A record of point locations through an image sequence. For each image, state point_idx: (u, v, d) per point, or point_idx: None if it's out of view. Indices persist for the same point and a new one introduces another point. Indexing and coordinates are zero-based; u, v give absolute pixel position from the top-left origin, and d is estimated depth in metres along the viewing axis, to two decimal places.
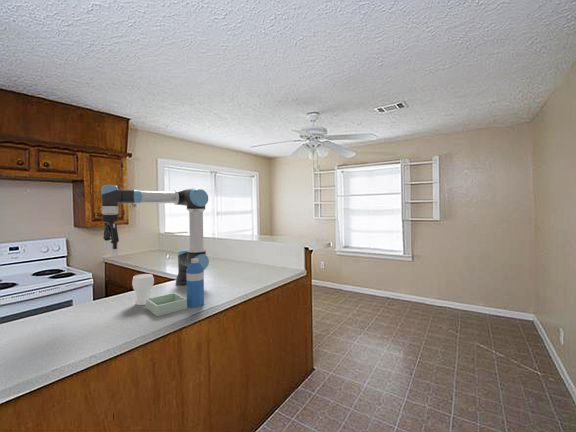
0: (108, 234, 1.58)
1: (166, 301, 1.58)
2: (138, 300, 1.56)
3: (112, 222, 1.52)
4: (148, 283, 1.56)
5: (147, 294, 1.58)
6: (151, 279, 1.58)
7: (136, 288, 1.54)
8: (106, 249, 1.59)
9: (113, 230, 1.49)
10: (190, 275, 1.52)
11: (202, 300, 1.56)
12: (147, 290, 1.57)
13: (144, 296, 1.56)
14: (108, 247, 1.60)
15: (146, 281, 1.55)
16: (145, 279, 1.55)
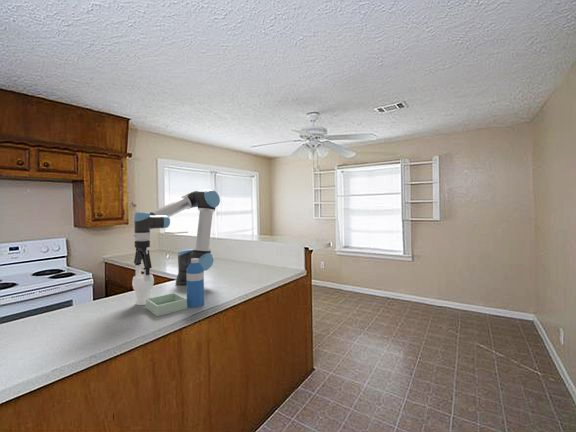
0: (139, 259, 1.62)
1: (166, 301, 1.58)
2: (138, 300, 1.56)
3: (144, 248, 1.56)
4: (148, 283, 1.56)
5: (147, 294, 1.58)
6: (151, 279, 1.58)
7: (136, 288, 1.54)
8: (137, 274, 1.63)
9: (146, 257, 1.53)
10: (190, 275, 1.52)
11: (202, 300, 1.56)
12: (147, 290, 1.57)
13: (144, 296, 1.56)
14: (139, 272, 1.63)
15: (146, 281, 1.55)
16: None
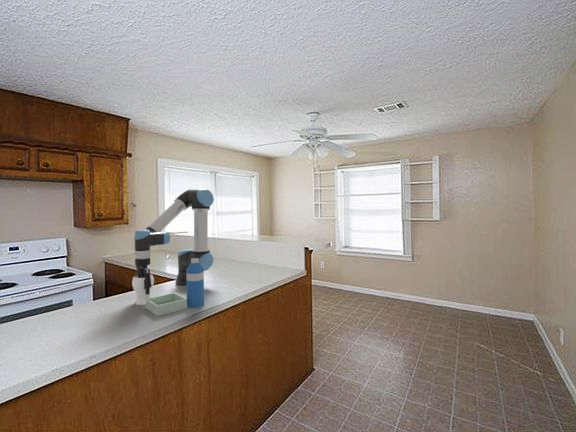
0: (140, 277, 1.62)
1: (166, 301, 1.58)
2: (138, 300, 1.56)
3: (145, 266, 1.56)
4: None
5: None
6: (151, 279, 1.58)
7: (136, 288, 1.54)
8: None
9: (146, 276, 1.54)
10: (190, 275, 1.52)
11: (202, 300, 1.56)
12: None
13: None
14: None
15: None
16: None
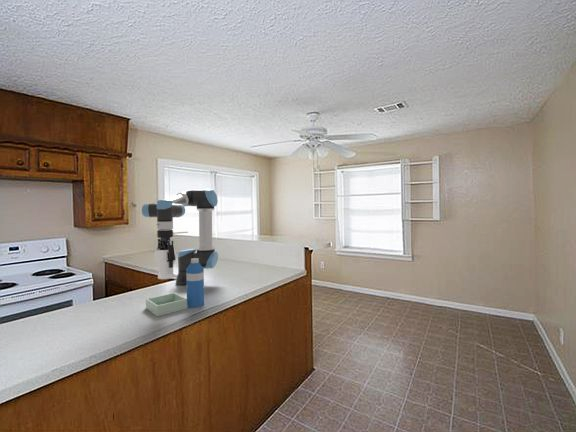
0: None
1: (166, 301, 1.58)
2: (160, 274, 1.47)
3: (168, 238, 1.47)
4: None
5: None
6: (174, 252, 1.49)
7: (159, 261, 1.45)
8: None
9: (170, 248, 1.44)
10: (190, 275, 1.52)
11: (202, 300, 1.56)
12: None
13: (166, 269, 1.47)
14: None
15: None
16: None
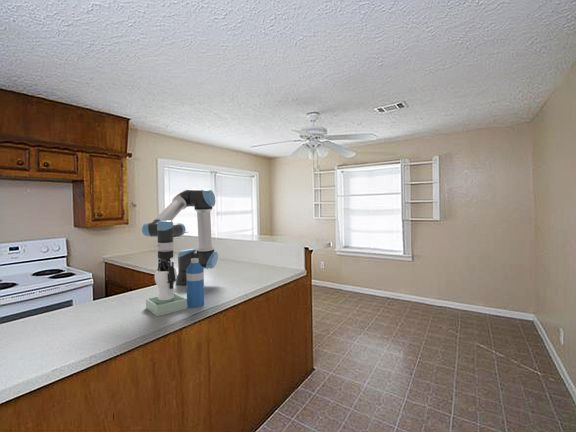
0: None
1: (166, 301, 1.58)
2: (161, 295, 1.47)
3: (169, 259, 1.47)
4: None
5: None
6: None
7: (159, 282, 1.46)
8: None
9: (170, 269, 1.45)
10: (190, 275, 1.52)
11: (202, 300, 1.56)
12: None
13: (167, 290, 1.48)
14: None
15: None
16: (168, 273, 1.46)
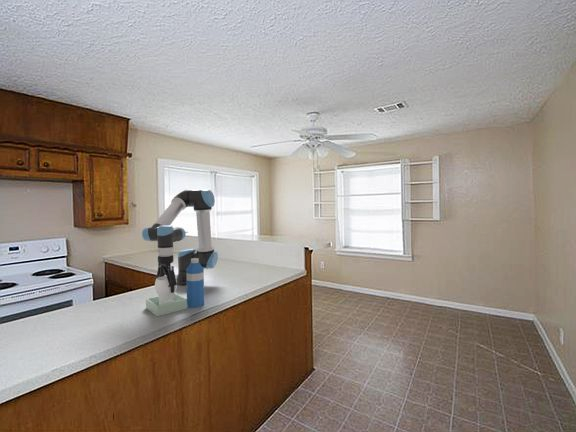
0: (162, 275, 1.54)
1: None
2: (161, 304, 1.48)
3: (168, 264, 1.48)
4: None
5: None
6: None
7: (159, 291, 1.46)
8: None
9: (171, 273, 1.45)
10: (190, 275, 1.52)
11: (202, 300, 1.56)
12: None
13: (167, 299, 1.48)
14: None
15: None
16: None
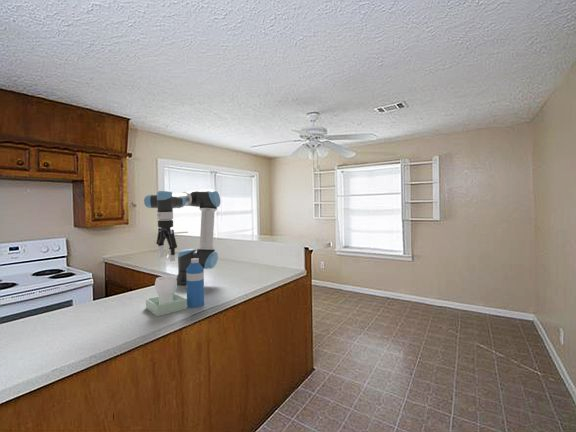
0: (162, 239, 1.58)
1: None
2: (161, 304, 1.48)
3: (168, 228, 1.52)
4: (172, 286, 1.48)
5: (170, 297, 1.49)
6: (174, 281, 1.50)
7: (159, 291, 1.46)
8: (160, 254, 1.59)
9: (171, 236, 1.49)
10: (190, 275, 1.52)
11: (202, 300, 1.56)
12: (170, 293, 1.48)
13: (167, 299, 1.48)
14: (162, 252, 1.60)
15: (170, 284, 1.47)
16: (169, 281, 1.47)
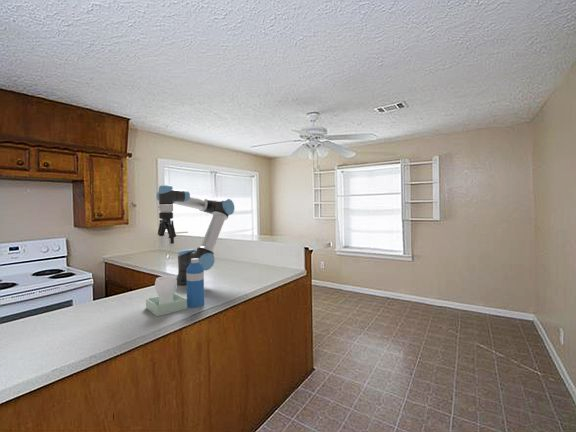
0: (163, 230, 1.73)
1: None
2: (161, 304, 1.48)
3: (169, 219, 1.66)
4: (172, 286, 1.48)
5: (170, 297, 1.49)
6: (174, 281, 1.50)
7: (159, 291, 1.46)
8: (161, 244, 1.74)
9: (171, 226, 1.63)
10: (190, 275, 1.52)
11: (202, 300, 1.56)
12: (170, 293, 1.48)
13: (167, 299, 1.48)
14: (162, 242, 1.74)
15: (170, 284, 1.47)
16: (169, 281, 1.47)
